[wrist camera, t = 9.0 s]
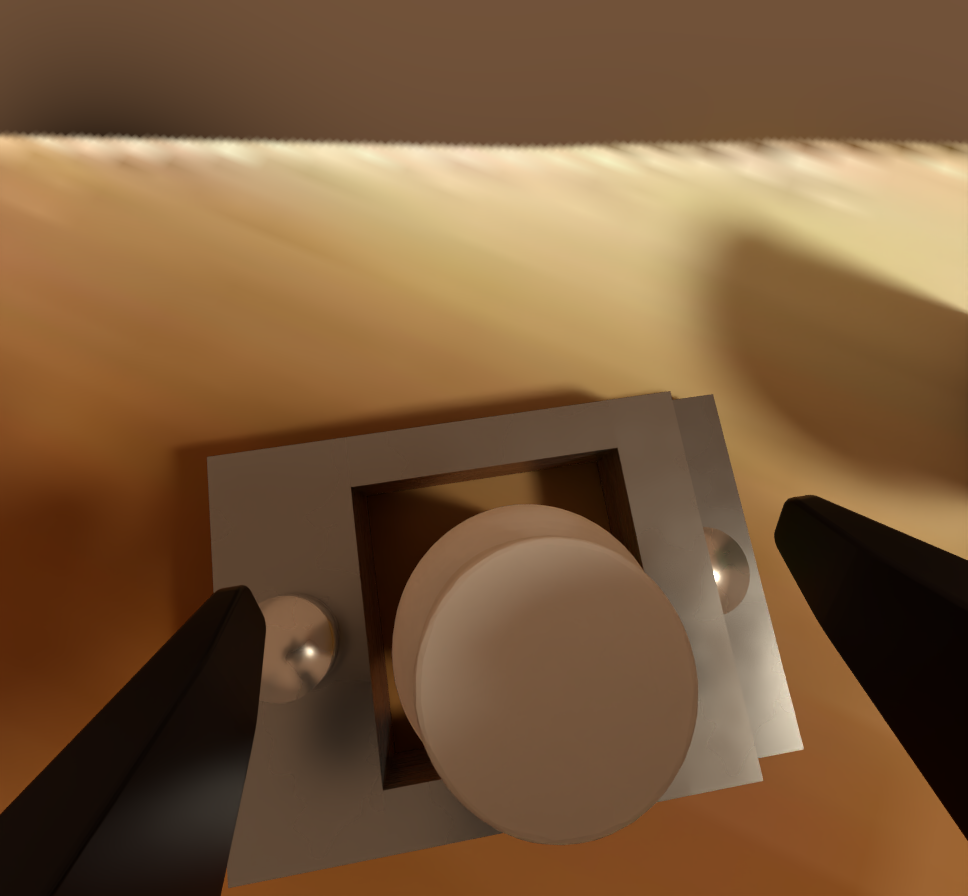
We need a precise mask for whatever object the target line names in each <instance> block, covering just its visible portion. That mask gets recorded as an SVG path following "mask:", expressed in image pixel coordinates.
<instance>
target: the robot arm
mask: <svg viewBox="0 0 968 896" xmlns="http://www.w3.org/2000/svg"><path fill="white" fill-rule="evenodd" d="M774 538H775V543H776V546H777V548H778V550H779V552H780V554H781V556H782V557H783V559H784V561H785V563H786V565H787V566H788V568H789V570H790V572H791V574H792V576H793V577H794V579H795V581H796V583H797V585H798V586H799V588H800V590H801V592H802V594H803V595H804V597H805V599H806V601H807V603H808V605H809V606H810V608H811V610H812V612H813V614H814V615H815V617H816V619H817V620H818V622H819V624H820V625H821V627H822V629H823V630H824V632H825V633H826V635H827V636H828V638H829V639H830V641H831V642H832V644H833V645H834V647H835V648H836V650H837V651H838V652H839V654H840V655H841V657H842V658H843V660H844V661H845V663H846V664H847V666H848V667H849V668H850V670H851V671H852V673H853V674H854V676H855V677H856V679H857V680H858V682H859V683H860V685H861V686H862V687H863V689H864V690H865V692H866V693H867V695H868V696H869V698H870V699H871V701H872V702H873V703H874V705H875V706H876V708H877V709H878V711H879V712H880V714H881V715H882V717H883V718H884V719H885V721H886V722H887V724H888V725H889V727H890V728H891V730H892V731H893V733H894V734H895V736H896V737H897V738H898V740H899V741H900V743H901V744H902V746H903V747H904V749H905V750H906V752H907V753H908V754H909V756H910V757H911V759H912V760H913V762H914V763H915V765H916V766H917V768H918V769H919V771H920V772H921V773H922V775H923V776H924V778H925V779H926V781H927V782H928V784H929V785H930V787H931V788H932V789H933V791H934V792H935V794H936V795H937V797H938V798H939V800H940V801H941V803H942V804H943V805H944V807H945V808H946V810H947V811H948V813H949V814H950V816H951V817H952V819H953V820H954V822H955V823H956V824H957V826H958V827H959V829H960V830H961V832H962V833H963V835H964V836H965V838H966V839H967V840H968V560H966V559H963V558H961V557H959V556H956V555H954V554H951V553H949V552H947V551H944V550H942V549H940V548H937V547H935V546H933V545H930V544H928V543H926V542H923V541H921V540H919V539H916V538H914V537H912V536H909V535H907V534H905V533H902V532H900V531H898V530H895V529H893V528H891V527H888V526H886V525H884V524H881V523H879V522H877V521H874V520H872V519H870V518H867V517H865V516H863V515H860V514H858V513H855V512H853V511H851V510H848V509H846V508H844V507H841V506H839V505H837V504H834V503H832V502H830V501H827V500H825V499H823V498H820V497H818V496H815V495H805V496H799V497H793V498H789V499H788V500H787V501H786V502H785V503H784V505H783V508H782V511H781V514H780V517H779V520H778V523H777V526H776V529H775V533H774ZM265 638H266V622H265V618H264V615H263V613H262V611H261V609H260V607H259V605H258V604H257V602H256V600H255V598H254V596H253V594H252V592H251V590H250V589H249V588H248V587H247V586H245V585H238V586H232V587H226V588H221V589H219V590H217V591H216V592H215V593H214V594H213V595H212V596H211V597H210V598H209V599H208V600H207V601H206V602H205V603H204V604H203V605H202V606H201V607H200V608H199V609H198V610H197V611H196V612H195V613H194V614H193V615H192V616H191V617H190V618H189V619H188V620H187V622H186V623H185V624H184V625H183V626H182V627H181V628H180V629H179V630H178V631H177V632H176V633H175V634H174V635H173V636H172V637H171V638H170V639H169V640H168V641H167V642H166V643H165V644H164V645H163V646H162V647H161V648H160V649H159V651H158V652H157V653H156V654H155V655H154V656H153V657H152V658H151V659H150V660H149V661H148V662H147V663H146V664H145V665H144V666H143V667H142V668H141V669H140V670H139V671H138V672H137V673H136V674H135V675H134V676H133V677H132V678H131V680H130V681H129V682H128V683H127V684H126V685H125V686H124V687H123V688H122V689H121V690H120V691H119V692H118V693H117V694H116V695H115V696H114V697H113V698H112V699H111V700H110V701H109V702H108V703H107V704H106V705H105V706H104V707H103V709H102V710H101V711H100V712H99V713H98V714H97V715H96V716H95V717H94V718H93V719H92V720H91V721H90V722H89V723H88V724H87V725H86V726H85V727H84V728H83V729H82V730H81V731H80V732H79V733H78V734H77V735H76V736H75V738H74V739H73V740H72V741H71V742H70V743H69V744H68V745H67V746H66V747H65V748H64V749H63V750H62V751H61V752H60V753H59V754H58V755H57V756H56V757H55V758H54V759H53V760H52V761H51V762H50V763H49V764H48V765H47V767H46V768H45V769H44V770H43V771H42V772H41V773H40V774H39V775H38V776H37V777H36V778H35V779H34V780H33V781H32V782H31V783H30V784H29V785H28V786H27V787H26V788H25V789H24V790H23V791H22V792H21V793H20V794H19V796H18V797H17V798H16V799H15V800H14V801H13V802H12V803H11V804H10V805H9V806H8V807H7V808H6V809H5V810H4V811H3V812H2V813H1V814H0V896H221V891H222V887H223V882H224V877H225V873H226V868H227V863H228V859H229V854H230V849H231V844H232V840H233V835H234V830H235V826H236V821H237V816H238V812H239V807H240V802H241V797H242V793H243V788H244V783H245V779H246V774H247V769H248V765H249V760H250V755H251V750H252V746H253V741H254V735H255V730H256V724H257V716H258V707H259V697H260V687H261V677H262V668H263V658H264V648H265Z"/></svg>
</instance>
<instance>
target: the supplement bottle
mask: <svg viewBox="0 0 968 896" xmlns="http://www.w3.org/2000/svg"><path fill="white" fill-rule="evenodd" d="M392 661H393V672H394V678H395V683H396V688H397V691H398V695H399V698H400V701H401V704H402V706H403V709H404V711H405V714H406V716H407V718H408V720H409V722H410V724H411V726H412V728H413V729H414V731H415V732H416V734H417V735H418V737H419V738H420V740H421V741H422V742H423V745H424V747H425V749H426V751H427V754H428V756H429V758H430V760H431V763H432V764H433V766H434V768H435V770H436V771H437V773H438V775H439V776H440V778H441V779H442V781H443V782H444V784H445V785H446V787H447V788H448V789H449V790H450V791H451V792H452V794H453V795H454V796H455V797H456V798H457V799H458V800H459V801H460V802H461V803H462V804H463V805H464V806H465V807H466V808H467V809H468V810H469V811H470V812H472V813H473V814H474V815H475V816H477V817H478V818H479V819H481V820H482V821H483V822H485V823H487V824H488V825H490V826H492V827H493V828H495V829H497V830H498V831H501V832H503V833H506V834H508V835H510V836H513V837H515V838H518V839H521V840H525V841H529V842H532V843H540V844H552V845H568V844H579V843H584V842H589V841H594V840H597V839H600V838H603V837H606V836H608V835H611V834H613V833H615V832H616V831H618V830H620V829H622V828H624V827H626V826H627V825H629V824H631V823H633V822H634V821H636V820H637V819H638V818H639V817H640V816H642V815H643V814H644V813H645V812H646V811H648V810H649V809H650V808H651V807H652V806H653V805H654V804H655V803H656V802H657V801H658V800H659V799H660V798H661V796H662V795H663V794H664V793H665V792H666V790H667V789H668V787H669V786H670V785H671V783H672V782H673V780H674V778H675V777H676V775H677V773H678V771H679V770H680V768H681V766H682V764H683V762H684V761H685V758H686V755H687V752H688V750H689V747H690V744H691V741H692V737H693V733H694V729H695V724H696V719H697V711H698V679H697V672H696V665H695V660H694V656H693V652H692V648H691V644H690V642H689V639H688V636H687V633H686V631H685V628H684V626H683V624H682V622H681V620H680V618H679V616H678V614H677V612H676V611H675V609H674V607H673V606H672V604H671V603H670V601H669V599H668V598H667V597H666V595H665V594H664V593H663V591H662V590H661V589H660V588H659V586H658V585H657V584H656V583H655V582H654V581H653V580H652V579H651V578H650V577H649V576H648V575H647V574H646V573H645V572H644V570H643V569H642V568H641V566H640V565H639V563H638V562H637V560H636V559H635V558H634V556H633V555H632V554H631V553H630V552H629V551H628V550H627V549H626V547H625V546H624V545H622V544H621V543H620V542H619V541H618V540H617V539H616V538H615V537H614V536H612V535H611V534H610V533H609V532H607V531H606V530H605V529H603V528H602V527H600V526H599V525H597V524H595V523H594V522H592V521H590V520H588V519H586V518H585V517H583V516H580V515H578V514H575V513H573V512H570V511H567V510H564V509H560V508H556V507H551V506H545V505H536V504H519V505H510V506H503V507H499V508H495V509H491V510H488V511H485V512H482V513H480V514H477V515H475V516H473V517H471V518H469V519H467V520H465V521H463V522H462V523H460V524H458V525H457V526H455V527H454V528H452V529H451V530H450V531H448V532H447V533H446V534H444V535H443V536H442V537H441V538H440V539H439V540H438V541H437V542H436V543H435V544H433V546H432V547H431V548H430V549H429V550H428V551H427V553H426V554H425V555H424V556H423V557H422V559H421V560H420V562H419V563H418V565H417V566H416V568H415V569H414V571H413V572H412V574H411V576H410V578H409V580H408V582H407V584H406V586H405V588H404V591H403V593H402V596H401V599H400V602H399V605H398V609H397V613H396V618H395V624H394V631H393V642H392Z"/></svg>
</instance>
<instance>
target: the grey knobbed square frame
mask: <svg viewBox="0 0 968 896" xmlns="http://www.w3.org/2000/svg"><path fill="white" fill-rule="evenodd" d="M595 461H597V465H598V469H599V474H600V479H601V484H602V489H603V494H604V499H605V504H606V509H607V514H608V519H609V524H610V528H611V533H612V536H614V537H615V538H616V539H617V540H618V541H619V542H620V543H621V544H622V545H624V546H625V547H626V549H627V550H628V551H629V552H630V553H631V554H632V555H633V556H634V558H635V559H636V560H637V562H638V563H639V565H640V566H641V568H642V569H643V570H644V572H645V573H646V574H647V575H648V576H649V577H650V578H651V579H652V580H653V581H654V582H655V583H656V584H657V585H658V586H659V588H660V589H661V590H662V591H663V593H664V594H665V595H666V597H667V598H668V599H669V601H670V603H671V604H672V606H673V607H674V609H675V611H676V612H677V614H678V616H679V618H680V620H681V622H682V624H683V626H684V628H685V631H686V633H687V636H688V639H689V642H690V644H691V648H692V652H693V656H694V660H695V665H696V672H697V679H698V711H697V719H696V724H695V729H694V733H693V737H692V741H691V744H690V747H689V750H688V752H687V755H686V758H685V761H684V762H683V764H682V766H681V768H680V770H679V771H678V773H677V775H676V777H675V778H674V780H673V782H672V783H671V785H670V786H669V787H668V789H667V790H666V792H665V793H664V794H663V795H662V796H661V798H660V799H659V800H658V801H657V802H660V801H665V800H670V799H675V798H680V797H685V796H690V795H695V794H700V793H705V792H710V791H715V790H720V789H725V788H730V787H735V786H740V785H745V784H750V783H755V782H759V781H763V777H762V773H761V769H760V765H759V761H758V758H761V757H767V756H772V755H777V754H782V753H787V752H792V751H797V750H802V749H804V748H803V744H802V740H801V736H800V733H799V729H798V725H797V721H796V717H795V713H794V709H793V705H792V701H791V697H790V693H789V690H788V686H787V682H786V678H785V674H784V670H783V666H782V662H781V658H780V654H779V651H778V647H777V643H776V639H775V635H774V631H773V627H772V623H771V619H770V615H769V611H768V608H767V604H766V600H765V596H764V592H763V588H762V584H761V580H760V576H759V572H758V569H757V565H756V561H755V557H754V553H753V549H752V545H751V541H750V537H749V533H748V529H747V526H746V522H745V518H744V514H743V510H742V506H741V502H740V498H739V494H738V490H737V487H736V483H735V479H734V475H733V471H732V467H731V463H730V459H729V455H728V451H727V447H726V444H725V440H724V436H723V432H722V428H721V424H720V420H719V416H718V412H717V408H716V405H715V401H714V397H713V394H711V395H704V396H697V397H690V398H683V399H676V400H672V397H671V393H670V391H668V392H661V393H654V394H647V395H640V396H633V397H626V398H619V399H612V400H605V401H598V402H591V403H584V404H577V405H570V406H563V407H556V408H549V409H541V410H534V411H527V412H520V413H513V414H506V415H499V416H492V417H485V418H478V419H471V420H464V421H457V422H450V423H443V424H436V425H429V426H422V427H415V428H408V429H400V430H393V431H386V432H379V433H372V434H365V435H358V436H351V437H344V438H337V439H330V440H323V441H316V442H309V443H302V444H295V445H288V446H281V447H274V448H267V449H260V450H252V451H245V452H238V453H231V454H224V455H217V456H210V457H207V470H208V490H209V510H210V530H211V550H212V570H213V590H214V593H215V592H216V591H217V590H219V589H221V588H226V587H232V586H238V585H245V586H247V587H248V588H249V589H250V590H251V592H252V594H253V596H254V598H255V600H256V602H257V604H258V605H259V607H260V609H261V611H262V613H263V615H264V618H265V622H266V638H265V648H264V658H263V668H262V677H261V687H260V697H259V707H258V716H257V724H256V730H255V735H254V741H253V746H252V750H251V755H250V760H249V765H248V769H247V774H246V779H245V783H244V788H243V793H242V797H241V802H240V807H239V812H238V816H237V821H236V826H235V830H234V835H233V840H232V844H231V849H230V854H229V859H228V863H227V872H228V888H231V887H236V886H241V885H246V884H251V883H256V882H261V881H266V880H271V879H276V878H281V877H286V876H291V875H296V874H301V873H306V872H311V871H316V870H321V869H326V868H331V867H336V866H341V865H346V864H351V863H356V862H361V861H366V860H371V859H376V858H381V857H386V856H391V855H396V854H401V853H406V852H411V851H416V850H421V849H425V848H430V847H435V846H440V845H445V844H450V843H455V842H460V841H465V840H470V839H475V838H480V837H485V836H490V835H495V834H500V833H503V832H501V831H498V830H497V829H495V828H493V827H492V826H490V825H488V824H487V823H485V822H483V821H482V820H481V819H479V818H478V817H477V816H475V815H474V814H473V813H472V812H470V811H469V810H468V809H467V808H466V807H465V806H464V805H463V804H462V803H461V802H460V801H459V800H458V799H457V798H456V797H455V796H454V795H453V794H452V792H451V791H450V790H449V789H448V788H447V787H446V785H445V784H444V782H443V781H442V779H441V778H440V776H439V775H438V773H437V771H436V770H435V768H434V766H433V764H432V763H431V760H430V758H429V756H428V754H427V751H426V749H425V748H421V749H416V750H411V751H405V752H400V753H395V747H394V738H393V729H392V720H391V711H390V702H389V693H388V684H387V675H386V666H385V657H384V648H383V639H382V630H381V621H380V612H379V603H378V594H377V585H376V576H375V567H374V558H373V549H372V540H371V531H370V522H369V513H368V504H367V496H369V495H376V494H382V493H389V492H396V491H402V490H409V489H416V488H422V487H429V486H436V485H442V484H449V483H455V482H462V481H469V480H475V479H482V478H489V477H495V476H502V475H509V474H515V473H522V472H529V471H535V470H542V469H549V468H555V467H562V466H569V465H575V464H582V463H588V462H595Z"/></svg>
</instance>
